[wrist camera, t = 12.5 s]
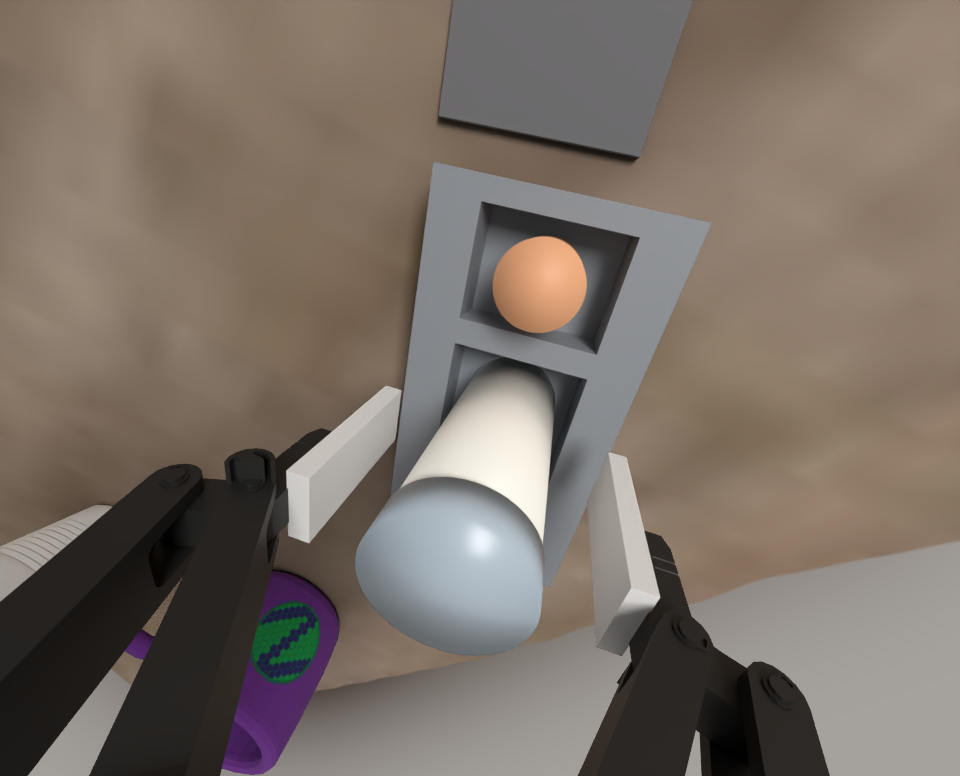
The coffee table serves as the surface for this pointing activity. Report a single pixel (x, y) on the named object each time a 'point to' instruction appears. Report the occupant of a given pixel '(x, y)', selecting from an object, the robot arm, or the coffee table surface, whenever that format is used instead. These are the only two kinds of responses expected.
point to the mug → (275, 671)
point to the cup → (41, 547)
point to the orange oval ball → (540, 284)
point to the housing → (559, 353)
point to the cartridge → (469, 521)
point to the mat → (562, 68)
